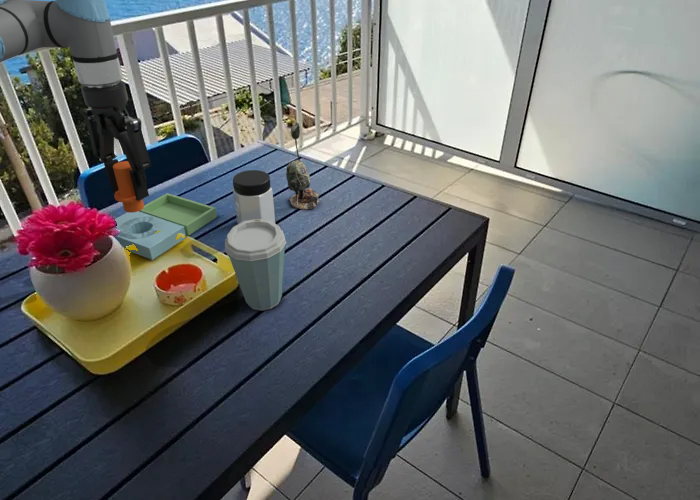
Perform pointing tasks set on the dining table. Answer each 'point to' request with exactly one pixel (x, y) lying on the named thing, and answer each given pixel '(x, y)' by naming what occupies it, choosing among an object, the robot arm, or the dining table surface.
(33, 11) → the robot arm
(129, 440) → the dining table surface
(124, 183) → the plug
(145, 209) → the tray
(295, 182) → the plant with pod
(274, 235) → the disposable coffee cup
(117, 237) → the plate
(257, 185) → the jar
